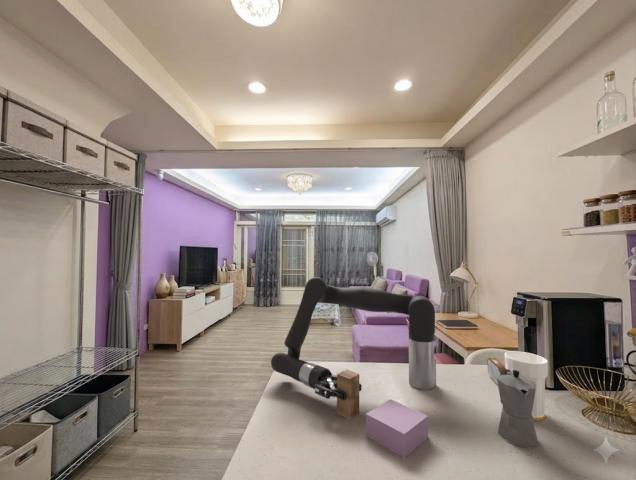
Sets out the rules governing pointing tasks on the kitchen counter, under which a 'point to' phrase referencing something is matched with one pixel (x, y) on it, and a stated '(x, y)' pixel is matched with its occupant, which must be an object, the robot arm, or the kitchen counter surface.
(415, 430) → the base block
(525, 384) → the coffeepot
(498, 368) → the tin
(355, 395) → the walnut block
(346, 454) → the kitchen counter surface
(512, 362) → the cup
